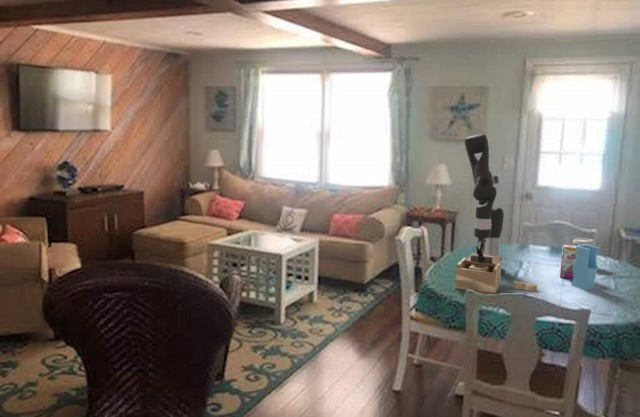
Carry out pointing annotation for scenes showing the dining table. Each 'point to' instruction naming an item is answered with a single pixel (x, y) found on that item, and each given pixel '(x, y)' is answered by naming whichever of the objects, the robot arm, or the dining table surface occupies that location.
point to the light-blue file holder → (585, 267)
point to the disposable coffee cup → (583, 242)
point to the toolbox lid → (484, 260)
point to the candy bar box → (568, 261)
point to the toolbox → (478, 277)
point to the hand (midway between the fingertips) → (480, 262)
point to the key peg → (525, 286)
